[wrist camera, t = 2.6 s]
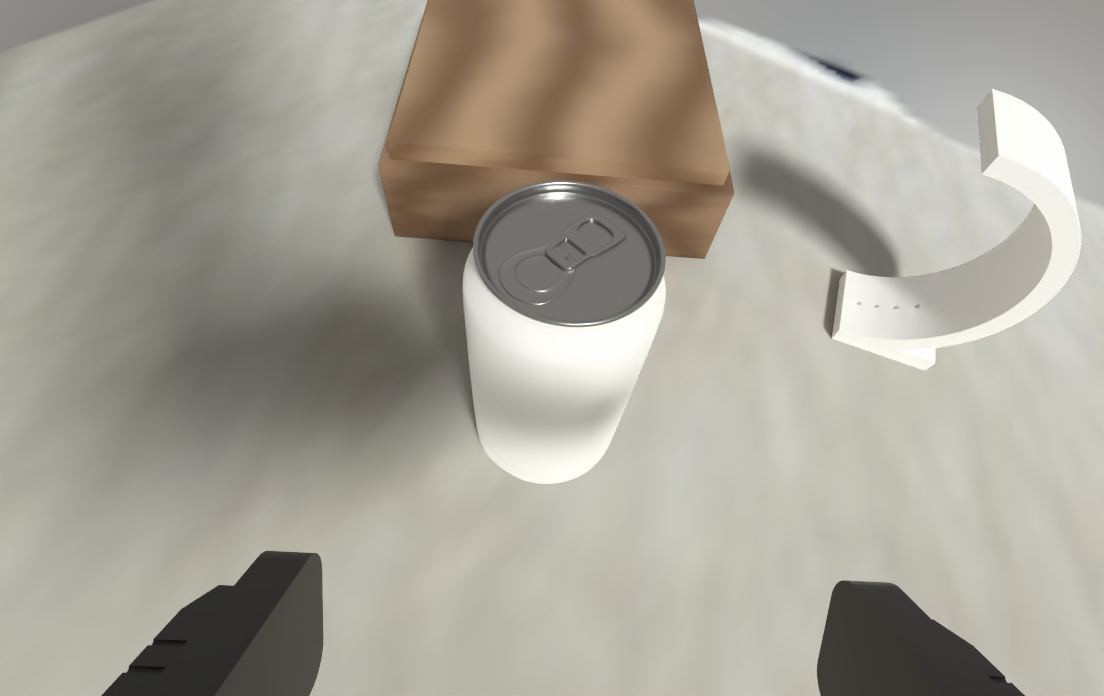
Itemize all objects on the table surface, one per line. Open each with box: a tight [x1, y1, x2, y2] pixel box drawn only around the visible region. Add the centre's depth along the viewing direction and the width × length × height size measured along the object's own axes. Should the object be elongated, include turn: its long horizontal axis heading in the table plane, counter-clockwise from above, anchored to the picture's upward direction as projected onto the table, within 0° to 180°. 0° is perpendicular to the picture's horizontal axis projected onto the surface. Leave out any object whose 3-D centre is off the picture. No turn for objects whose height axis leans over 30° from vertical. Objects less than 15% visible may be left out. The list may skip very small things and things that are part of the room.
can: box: [462, 180, 666, 484], centre depth 21 cm, size 6×6×12 cm
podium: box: [378, 0, 734, 259], centre depth 34 cm, size 18×18×6 cm
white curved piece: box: [832, 89, 1081, 371], centre depth 26 cm, size 5×6×12 cm
